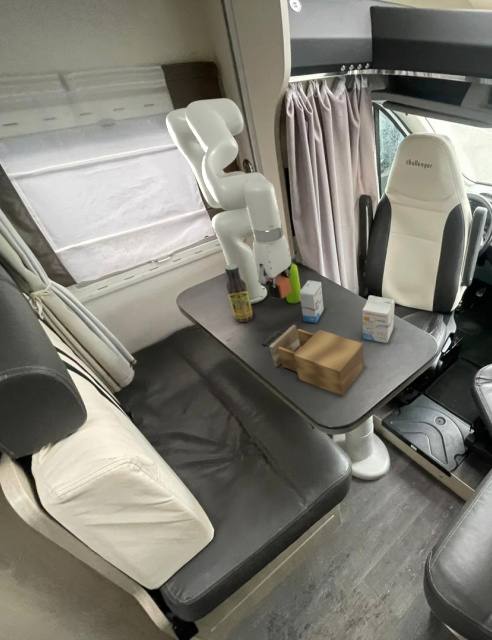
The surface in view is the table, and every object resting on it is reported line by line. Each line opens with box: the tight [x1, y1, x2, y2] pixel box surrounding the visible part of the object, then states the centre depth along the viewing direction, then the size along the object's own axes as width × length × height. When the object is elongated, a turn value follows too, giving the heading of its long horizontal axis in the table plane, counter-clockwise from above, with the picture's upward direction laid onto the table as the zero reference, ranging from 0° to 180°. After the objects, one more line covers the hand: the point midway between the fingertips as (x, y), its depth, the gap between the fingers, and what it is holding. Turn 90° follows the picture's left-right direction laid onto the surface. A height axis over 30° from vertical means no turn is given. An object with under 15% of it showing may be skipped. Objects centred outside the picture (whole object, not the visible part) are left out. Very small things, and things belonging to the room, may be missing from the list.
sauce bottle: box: [224, 264, 254, 323], centre depth 121 cm, size 7×6×20 cm
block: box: [270, 274, 292, 299], centre depth 106 cm, size 4×4×4 cm
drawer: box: [261, 324, 315, 373], centre depth 108 cm, size 19×11×8 cm, turn 64°
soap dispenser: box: [285, 256, 302, 304], centre depth 130 cm, size 6×7×20 cm
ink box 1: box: [300, 280, 325, 324], centre depth 125 cm, size 9×5×12 cm, turn 168°
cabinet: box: [294, 329, 364, 397], centre depth 104 cm, size 15×13×10 cm
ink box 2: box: [362, 294, 396, 344], centre depth 117 cm, size 9×8×13 cm
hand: (281, 292), depth 107 cm, fingers closed on block, 4 cm apart
